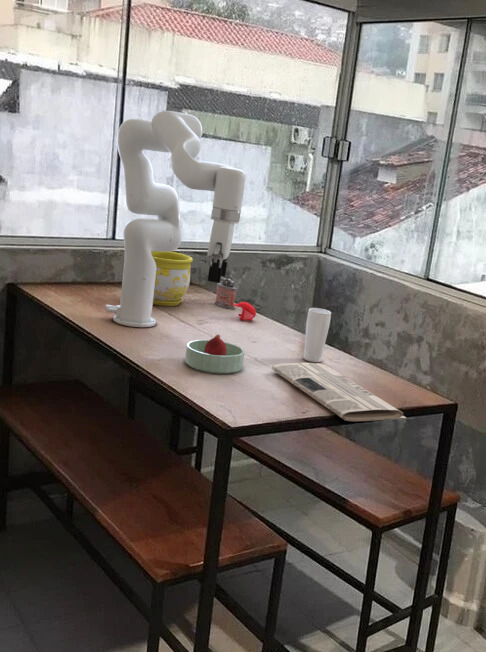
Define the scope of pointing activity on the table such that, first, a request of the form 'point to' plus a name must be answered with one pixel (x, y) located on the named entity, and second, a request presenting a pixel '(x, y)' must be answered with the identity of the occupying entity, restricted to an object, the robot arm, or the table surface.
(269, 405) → the table surface
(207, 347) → the onion
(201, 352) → the bowl
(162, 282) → the flowerpot
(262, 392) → the table surface
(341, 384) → the newspaper
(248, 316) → the red toy figurine
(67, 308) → the table surface
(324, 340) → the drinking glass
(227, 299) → the lighter
